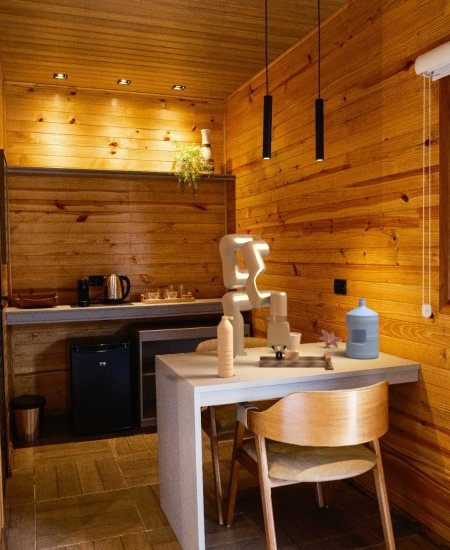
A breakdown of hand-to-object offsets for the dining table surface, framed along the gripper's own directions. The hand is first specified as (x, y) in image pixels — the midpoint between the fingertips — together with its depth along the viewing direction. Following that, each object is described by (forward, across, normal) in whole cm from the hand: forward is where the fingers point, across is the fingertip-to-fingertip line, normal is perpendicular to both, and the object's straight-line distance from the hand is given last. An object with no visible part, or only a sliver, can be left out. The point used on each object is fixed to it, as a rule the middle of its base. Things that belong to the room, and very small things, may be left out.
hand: (279, 360), depth 250 cm
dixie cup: (+3, +7, +31) cm, 32 cm away
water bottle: (+3, -22, -20) cm, 30 cm away
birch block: (+2, +6, 0) cm, 6 cm away
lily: (+3, +27, +47) cm, 54 cm away
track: (+3, +7, 0) cm, 8 cm away
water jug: (+3, +40, +25) cm, 47 cm away
